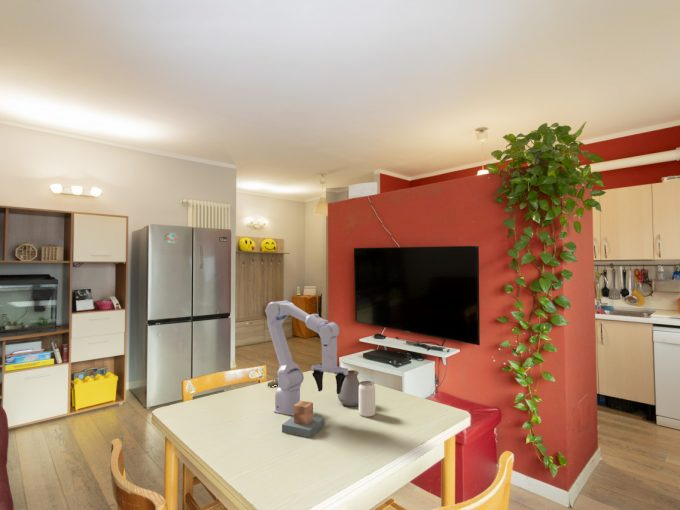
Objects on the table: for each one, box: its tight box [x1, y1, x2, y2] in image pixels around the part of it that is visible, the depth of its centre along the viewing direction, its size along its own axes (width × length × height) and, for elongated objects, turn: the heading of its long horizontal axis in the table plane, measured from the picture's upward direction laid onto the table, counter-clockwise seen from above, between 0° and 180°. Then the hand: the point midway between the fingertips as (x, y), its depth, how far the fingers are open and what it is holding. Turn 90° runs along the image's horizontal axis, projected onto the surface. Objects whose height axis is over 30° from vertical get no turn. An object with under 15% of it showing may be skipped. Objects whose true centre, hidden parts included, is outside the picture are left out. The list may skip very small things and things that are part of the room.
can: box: [358, 380, 376, 418], centre depth 143 cm, size 6×6×12 cm
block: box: [293, 400, 314, 425], centre depth 130 cm, size 5×5×6 cm
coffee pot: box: [319, 362, 360, 407], centre depth 157 cm, size 21×12×15 cm, turn 63°
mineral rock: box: [267, 377, 278, 387], centre depth 180 cm, size 11×4×8 cm
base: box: [281, 415, 325, 438], centre depth 130 cm, size 11×11×2 cm
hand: (329, 392), depth 137 cm, fingers open, 7 cm apart
